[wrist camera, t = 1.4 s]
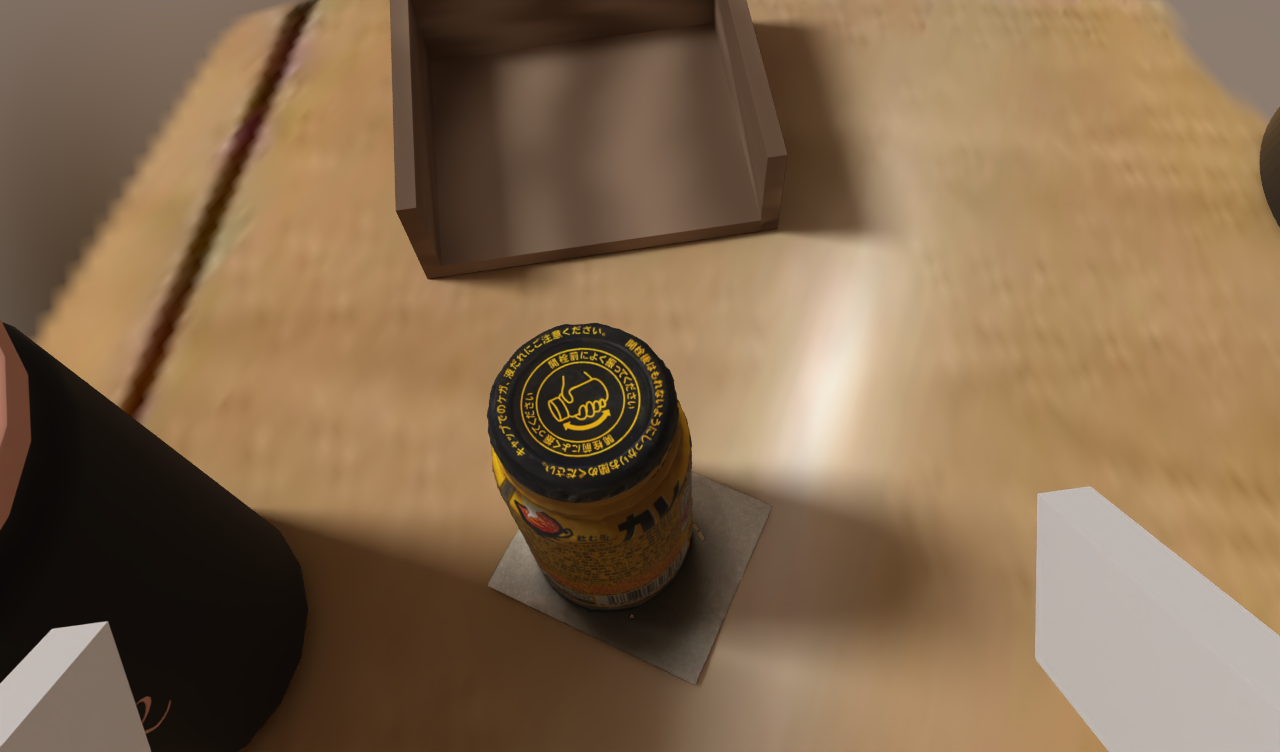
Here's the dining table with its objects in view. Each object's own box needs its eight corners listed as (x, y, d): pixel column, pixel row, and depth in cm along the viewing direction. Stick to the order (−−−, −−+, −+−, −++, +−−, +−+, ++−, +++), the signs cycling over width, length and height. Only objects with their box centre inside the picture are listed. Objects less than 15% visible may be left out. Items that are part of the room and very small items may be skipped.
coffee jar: (-20, 775, 33) (-686, 708, 17) (99, 489, 38) (-338, 226, 22) (267, 823, 32) (-156, 800, 16) (354, 522, 37) (92, 270, 21)
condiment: (576, 424, 38) (531, 259, 28) (772, 507, 36) (805, 365, 26) (488, 587, 35) (399, 475, 25) (695, 686, 33) (696, 611, 23)
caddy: (725, 21, 48) (729, -64, 43) (777, 228, 42) (787, 154, 37) (417, 64, 47) (389, -18, 43) (427, 278, 42) (395, 210, 37)
